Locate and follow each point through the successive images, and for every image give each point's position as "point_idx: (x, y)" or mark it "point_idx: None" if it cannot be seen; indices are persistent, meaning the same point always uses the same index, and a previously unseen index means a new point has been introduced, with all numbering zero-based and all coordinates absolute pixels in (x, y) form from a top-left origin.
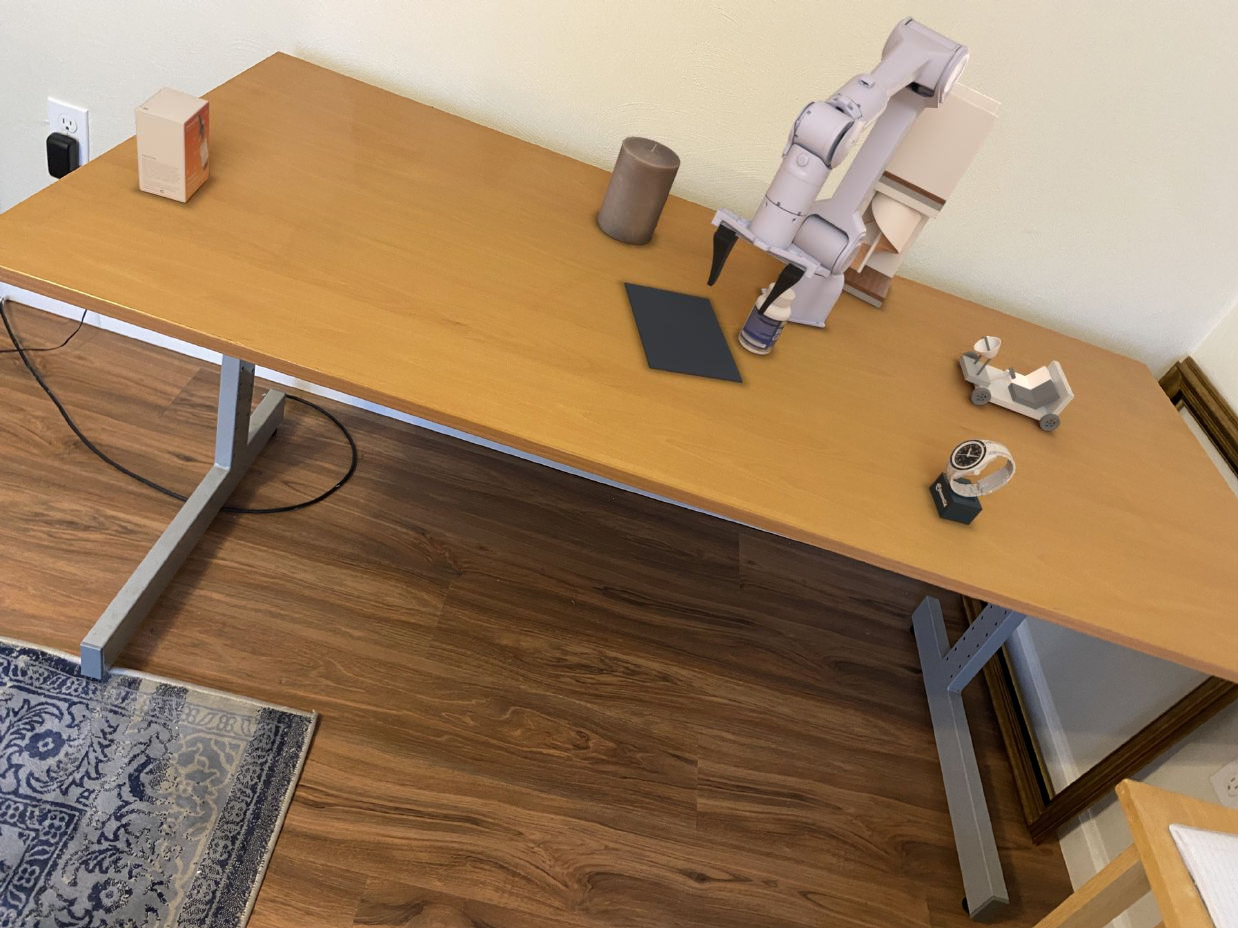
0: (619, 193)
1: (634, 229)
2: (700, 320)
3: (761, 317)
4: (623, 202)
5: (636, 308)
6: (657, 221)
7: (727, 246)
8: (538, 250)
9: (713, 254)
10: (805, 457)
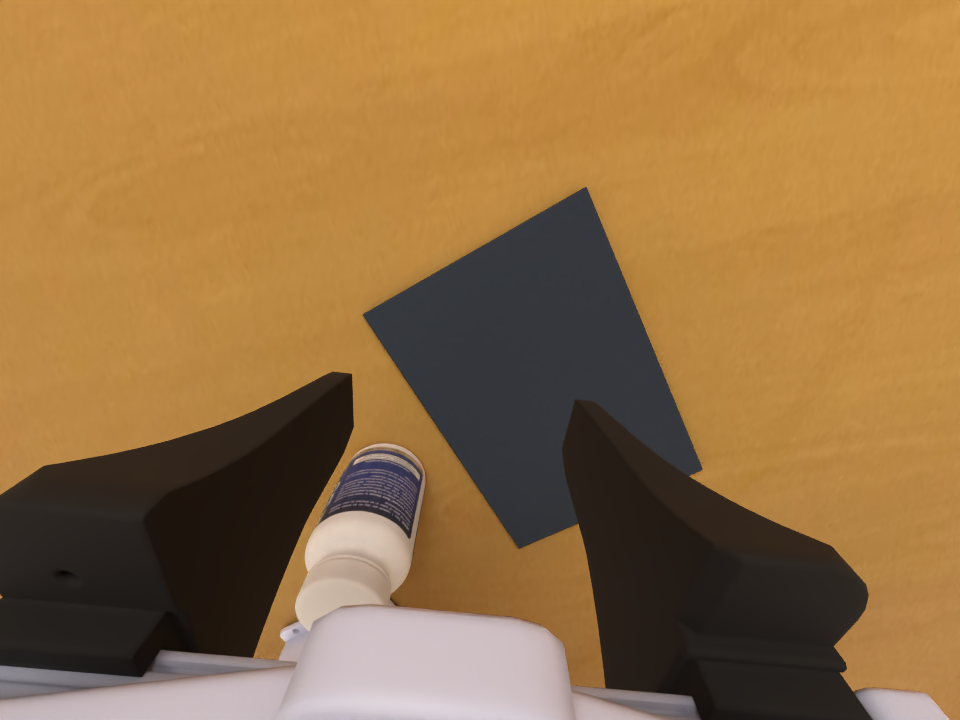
0: None
1: None
2: (516, 464)
3: (378, 504)
4: None
5: (662, 397)
6: None
7: (703, 535)
8: (904, 440)
9: (698, 482)
10: (114, 121)
